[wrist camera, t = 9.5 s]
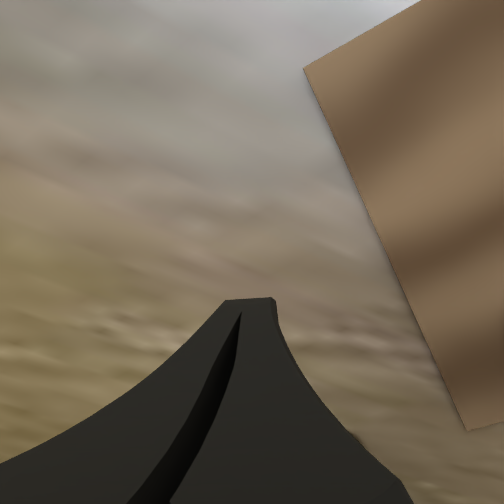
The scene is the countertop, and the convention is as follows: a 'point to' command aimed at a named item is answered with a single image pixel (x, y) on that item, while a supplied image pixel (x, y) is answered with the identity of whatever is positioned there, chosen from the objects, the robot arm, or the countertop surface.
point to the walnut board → (433, 176)
